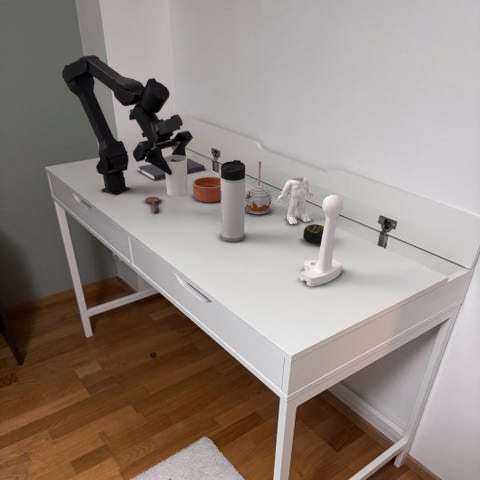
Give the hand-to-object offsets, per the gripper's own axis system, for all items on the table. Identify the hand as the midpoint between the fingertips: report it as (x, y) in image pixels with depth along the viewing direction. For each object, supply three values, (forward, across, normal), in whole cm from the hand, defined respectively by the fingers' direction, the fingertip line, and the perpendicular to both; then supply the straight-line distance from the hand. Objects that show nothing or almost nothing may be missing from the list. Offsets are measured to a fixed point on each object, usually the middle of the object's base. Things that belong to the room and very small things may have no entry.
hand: (179, 171), depth 132 cm
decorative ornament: (+20, +18, -1) cm, 27 cm away
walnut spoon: (+1, -1, +17) cm, 18 cm away
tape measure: (+38, +12, -20) cm, 44 cm away
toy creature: (+29, +20, -11) cm, 37 cm away
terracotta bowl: (+7, +16, +12) cm, 21 cm away
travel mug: (+24, -1, -6) cm, 25 cm away
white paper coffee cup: (+4, 0, +6) cm, 7 cm away
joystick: (+44, -4, -26) cm, 52 cm away
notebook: (-14, +27, +33) cm, 45 cm away
